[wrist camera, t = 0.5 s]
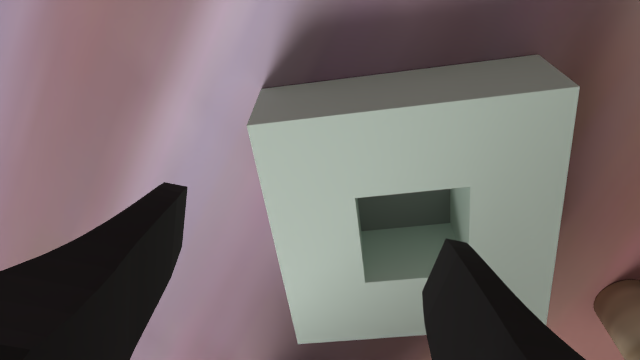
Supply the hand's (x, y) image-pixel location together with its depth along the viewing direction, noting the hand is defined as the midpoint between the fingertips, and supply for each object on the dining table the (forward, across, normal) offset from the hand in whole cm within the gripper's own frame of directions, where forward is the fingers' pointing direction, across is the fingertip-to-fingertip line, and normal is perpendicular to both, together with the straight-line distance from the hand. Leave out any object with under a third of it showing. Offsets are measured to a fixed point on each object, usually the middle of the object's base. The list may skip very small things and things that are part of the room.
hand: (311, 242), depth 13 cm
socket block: (+10, -5, +3) cm, 12 cm away
